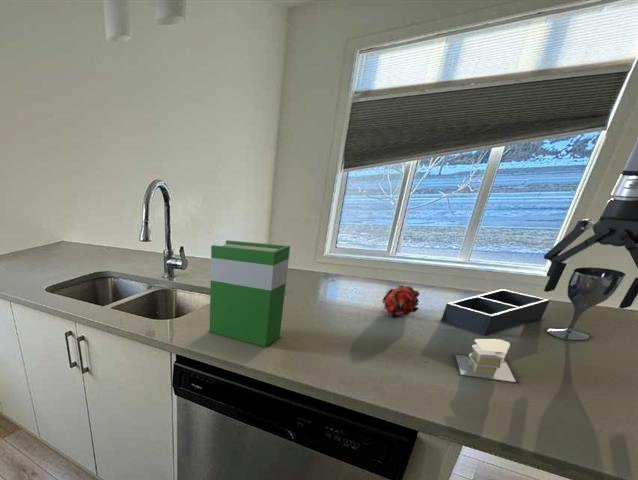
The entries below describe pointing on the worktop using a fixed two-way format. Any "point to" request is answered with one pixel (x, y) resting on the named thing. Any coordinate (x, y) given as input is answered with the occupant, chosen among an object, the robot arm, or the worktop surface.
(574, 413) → the worktop surface
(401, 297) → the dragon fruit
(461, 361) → the stacked layers on plate
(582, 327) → the worktop surface
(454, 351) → the worktop surface
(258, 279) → the hardback book
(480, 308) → the divided tray
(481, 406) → the worktop surface
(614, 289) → the wine glass
